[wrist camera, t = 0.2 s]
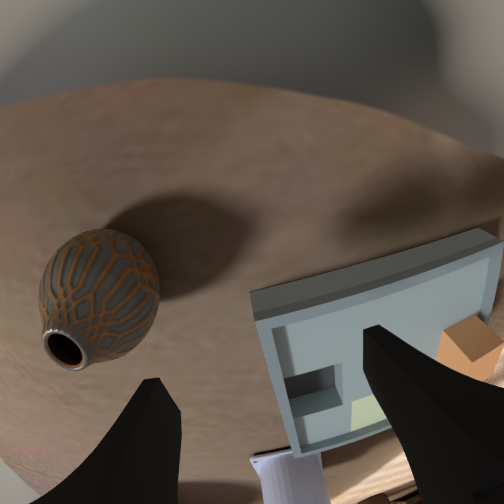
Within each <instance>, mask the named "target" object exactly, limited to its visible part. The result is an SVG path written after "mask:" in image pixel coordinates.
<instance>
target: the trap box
mask: <svg viewBox="0 0 504 504" xmlns="http://www.w3.org/2000/svg"><path fill="white" fill-rule="evenodd" d="M503 247H504V241H502V240H501V239H499V238H497V237H495V236H493V235H491V234H489V233H487V232H486V231H484V230H482V229H480V228H475V229H472V230H469V231H466V232H463V233H460V234H457V235H454V236H450V237H447V238H444V239H441V240H438V241H435V242H431V243H428V244H425V245H422V246H418V247H415V248H412V249H408V250H405V251H402V252H398V253H395V254H392V255H388V256H385V257H381V258H378V259H374V260H371V261H367V262H364V263H360V264H357V265H353V266H349V267H346V268H342V269H338V270H335V271H331V272H327V273H324V274H320V275H316V276H312V277H309V278H305V279H301V280H297V281H293V282H289V283H285V284H281V285H277V286H273V287H269V288H265V289H261V290H257V291H253V292H250V297H251V302H252V308H253V314H254V319H255V324H256V327H257V331H258V335H259V338H260V342H261V345H262V349H263V352H264V356H265V360H266V363H267V367H268V370H269V374H270V377H271V381H272V384H273V388H274V391H275V395H276V398H277V402H278V405H279V409H280V412H281V415H282V419H283V422H284V426H285V429H286V433H287V436H288V439H289V443H290V446H291V449H292V453H293V456H294V459H295V458H300V457H304V456H308V455H312V454H315V453H319V452H323V451H326V450H330V449H333V448H336V447H339V446H343V445H346V444H349V443H352V442H355V441H358V440H360V439H363V438H366V437H369V436H372V435H374V434H377V433H379V432H382V431H384V430H387V429H389V428H392V426H391V424H390V423H389V421H388V419H387V417H386V416H385V414H384V412H383V410H382V409H381V407H380V405H379V403H378V402H377V400H376V398H375V396H374V395H373V393H372V391H371V388H370V386H369V384H368V381H367V379H366V376H365V374H364V371H363V329H366V328H369V327H372V326H375V325H378V324H379V325H381V326H382V327H384V328H385V329H387V330H388V331H390V332H391V333H393V334H394V335H396V336H397V337H399V338H400V339H402V340H403V341H405V342H406V343H408V344H409V345H411V346H413V347H414V348H416V349H417V350H419V351H421V352H422V353H424V354H426V355H427V356H429V357H431V358H432V359H434V360H436V358H437V354H438V350H439V345H440V341H441V336H442V331H443V330H444V329H446V328H448V327H450V326H452V325H454V324H457V323H459V322H461V321H463V320H465V319H467V318H469V317H471V316H472V315H474V314H475V315H476V316H477V317H478V318H479V319H480V320H481V321H483V322H484V323H485V324H486V325H487V326H488V323H489V319H490V315H491V311H492V307H493V303H494V298H495V294H496V289H497V284H498V279H499V273H500V267H501V261H502V254H503Z"/></svg>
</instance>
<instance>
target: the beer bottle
mask: <svg viewBox="0 0 504 504" xmlns="http://www.w3.org/2000/svg"><path fill="white" fill-rule="evenodd" d="M358 504H390V501H389V499H388V497H387V495H386V494H378V495H375V496H372V497H369V498H367V499H365V500H363V501H360V502H359V503H358Z"/></svg>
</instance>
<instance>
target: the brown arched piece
mask: <svg viewBox="0 0 504 504" xmlns="http://www.w3.org/2000/svg"><path fill="white" fill-rule="evenodd" d="M390 504H422V502H421V498H420V495H419V494H418V495H415V496H414V497H412V498H410V499H407V500H405V501H398V502H391V503H390Z"/></svg>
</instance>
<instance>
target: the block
mask: <svg viewBox="0 0 504 504" xmlns="http://www.w3.org/2000/svg"><path fill="white" fill-rule="evenodd" d="M503 345H504V341H503V340H502V339H501V338H500V337H499V336H498V335H496V334H495V333H494V332H493V331H492V330H491V329H490V328H489V327H488V326H487V325H486V324H485V323H484V322H483V321H481V320H480V319H479V318H478V317H477V316H476V315H475V314H474V315H472V316H471V317H469V318H467V319H465V320H463V321H461V322H459V323H457V324H454V325H452V326H450V327H448V328H446V329H444V330H443V331H442V336H441V341H440V345H439V350H438V354H437V358H436V361H438V362H440V363H441V364H443V365H445V366H447V367H449V368H451V369H453V370H455V371H457V372H460V373H462V374H464V375H467V376H469V377H471V378H474V379H476V380H479V381H484V380H485V379H487V378H488V377H490V376H491V375H492V373H493V371H494V368H495V366H496V364H497V361H498V359H499V356H500V353H501V351H502V348H503Z"/></svg>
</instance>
